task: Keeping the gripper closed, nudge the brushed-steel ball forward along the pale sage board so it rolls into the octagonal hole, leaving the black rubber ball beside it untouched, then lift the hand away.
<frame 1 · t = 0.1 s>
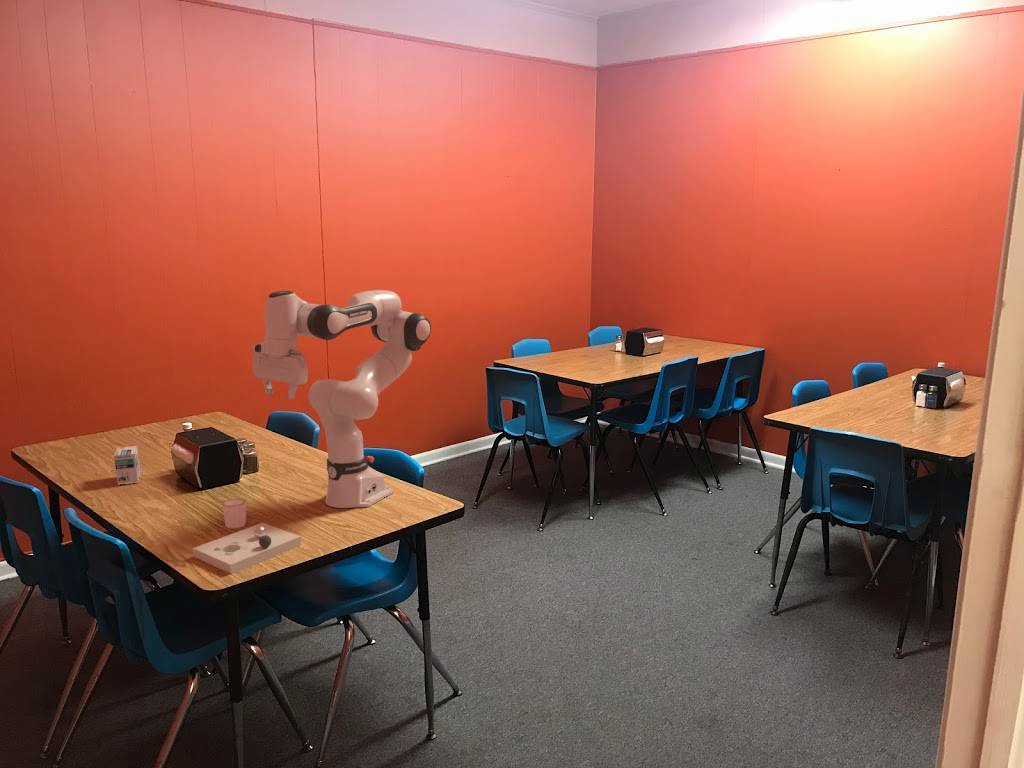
hand: (279, 396, 222), 39 cm above the table, tool pointing down, fingers open, 8 cm apart
black rubber ball: (265, 541, 207), point 4 cm above the table, touching board
steel ball: (259, 532, 213), point 4 cm above the table, touching board
light bulb box: (129, 480, 269), on the table
board: (248, 550, 211), on the table
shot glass: (235, 525, 229), on the table
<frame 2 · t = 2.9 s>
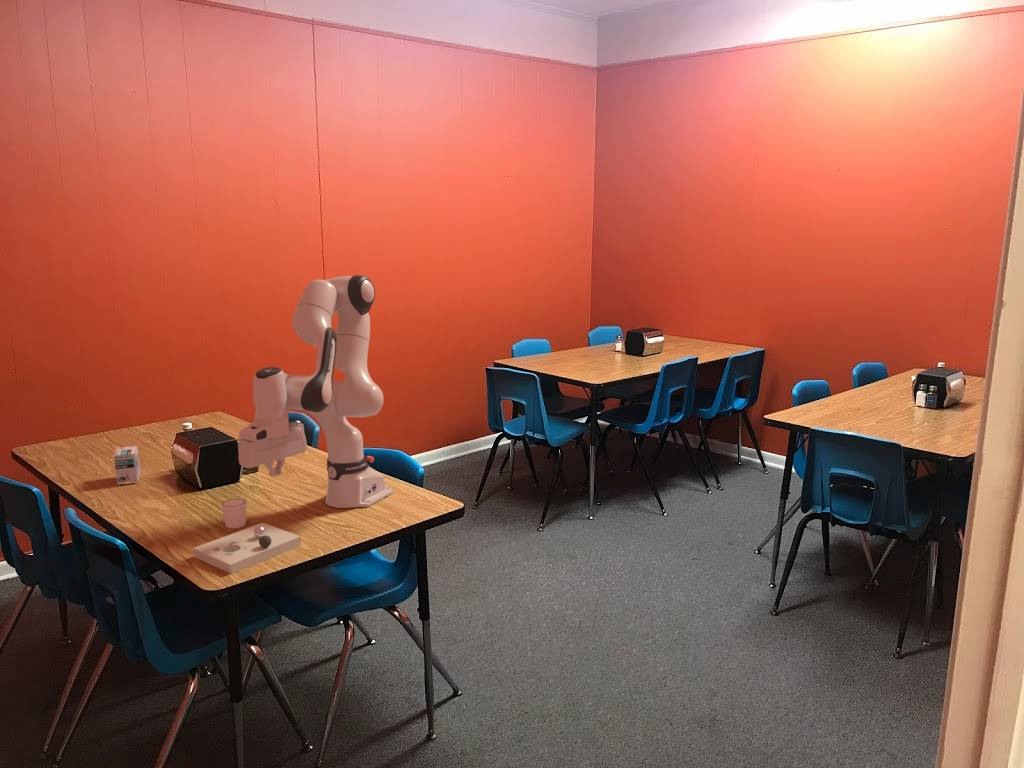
hand: (275, 475, 215), 19 cm above the table, tool pointing down, fingers closed
nothing on the table moved.
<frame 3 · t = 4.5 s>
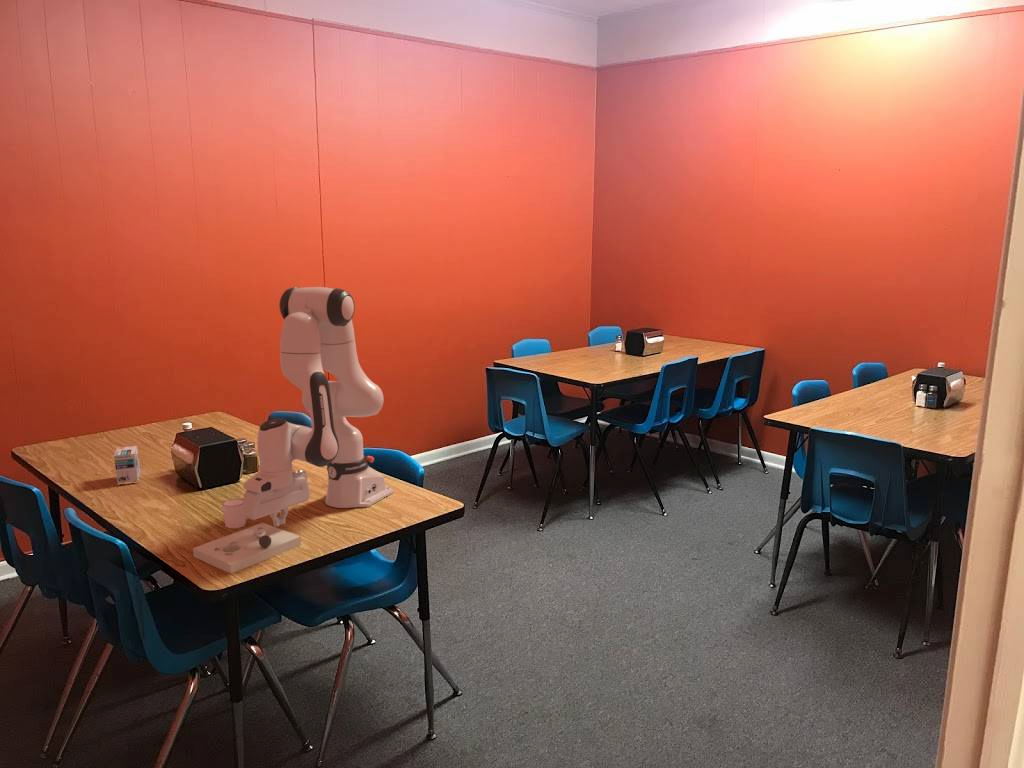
hand: (279, 524, 218), 4 cm above the table, tool pointing down, fingers closed
nothing on the table moved.
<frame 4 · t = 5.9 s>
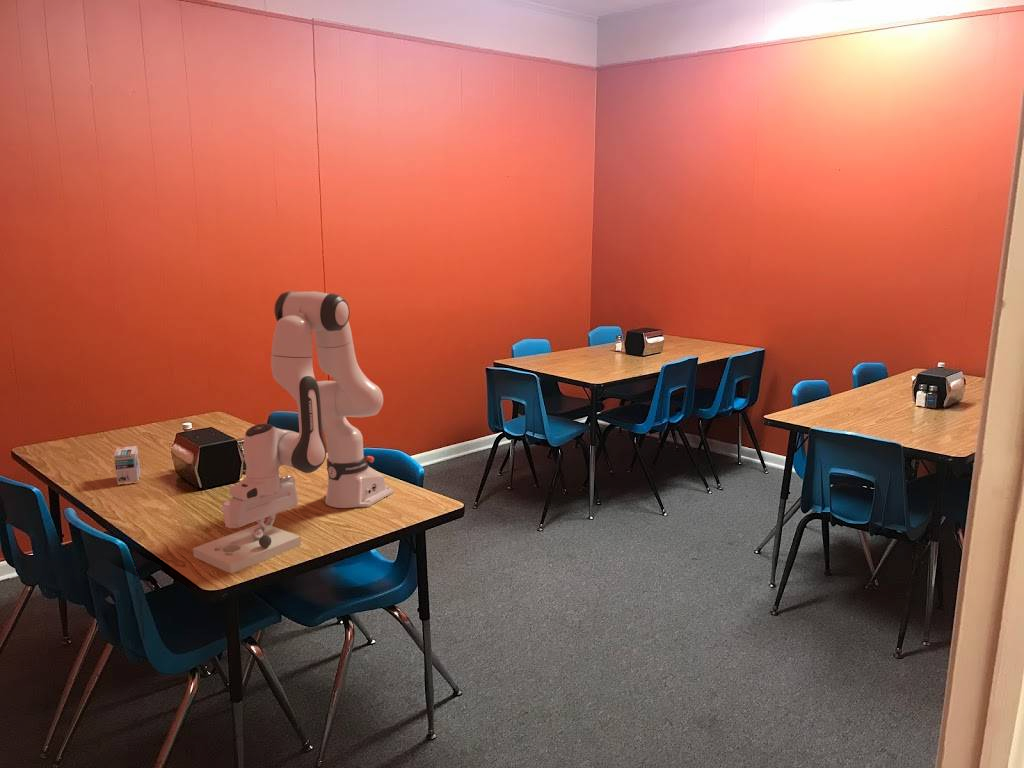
hand: (266, 530, 215), 4 cm above the table, tool pointing down, fingers closed
steel ball: (257, 533, 213), point 4 cm above the table, tilted 28°, touching board, gripper
everything else where it was.
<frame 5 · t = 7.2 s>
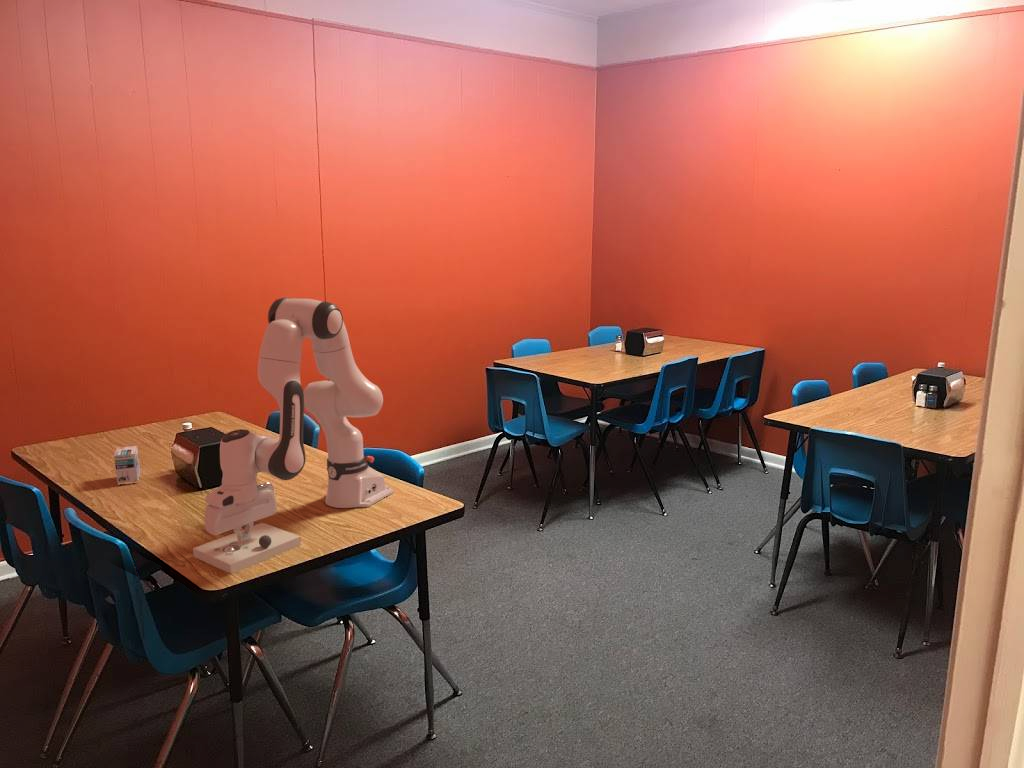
hand: (244, 539, 210), 4 cm above the table, tool pointing down, fingers closed
steel ball: (229, 552, 206), point 2 cm above the table, tilted 18°
everything else where it was.
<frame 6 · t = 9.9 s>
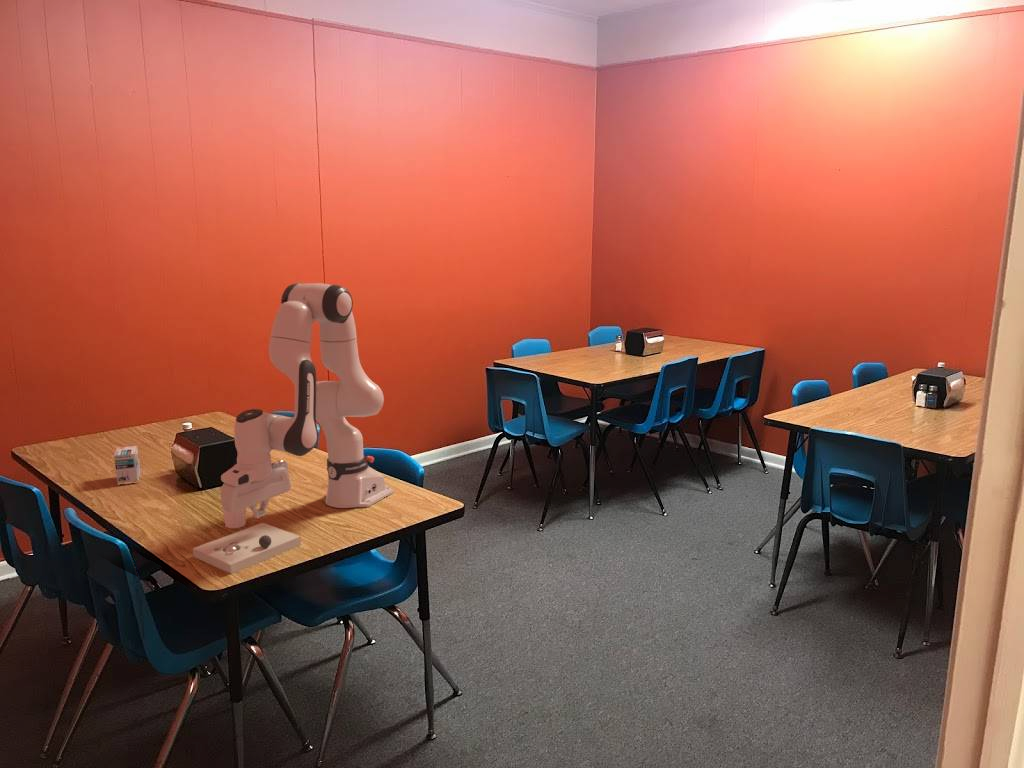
hand: (259, 516, 215), 8 cm above the table, tool pointing down, fingers closed
steel ball: (231, 551, 207), point 2 cm above the table
everything else where it was.
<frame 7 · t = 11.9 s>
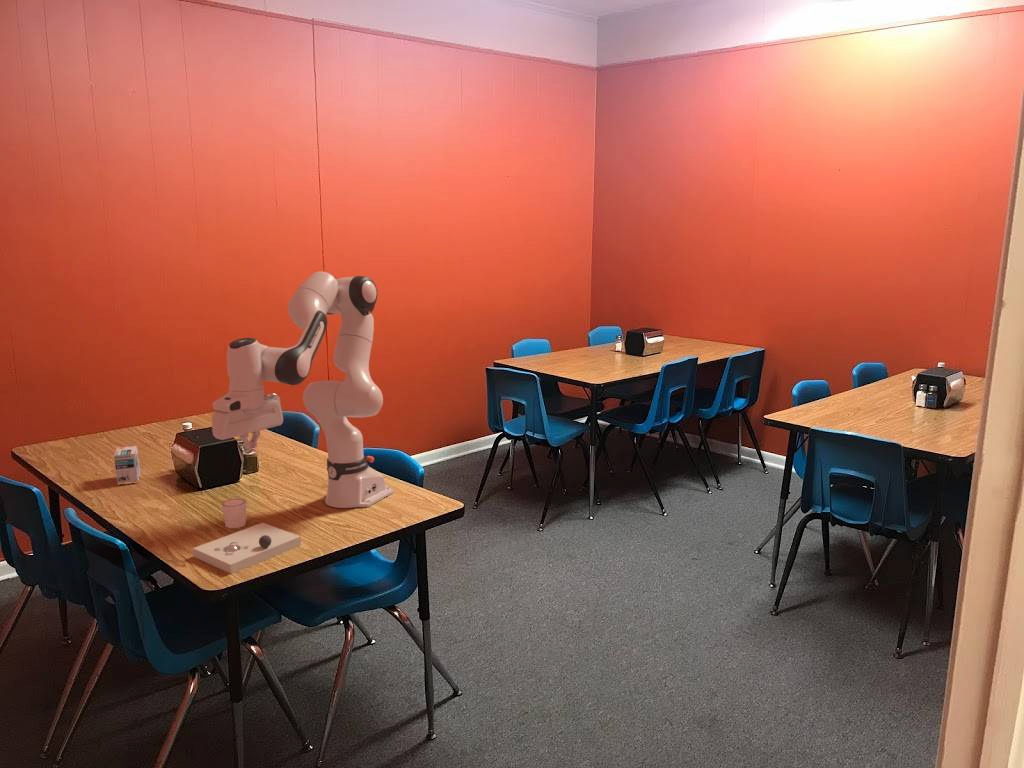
hand: (250, 447, 212), 27 cm above the table, tool pointing down, fingers closed
steel ball: (232, 551, 207), point 2 cm above the table, tilted 16°
everything else where it was.
at the end: steel ball 0.4 cm from the target spot in the board, point 1.6 cm above the board's base; black rubber ball moved 0.0 cm from its start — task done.
